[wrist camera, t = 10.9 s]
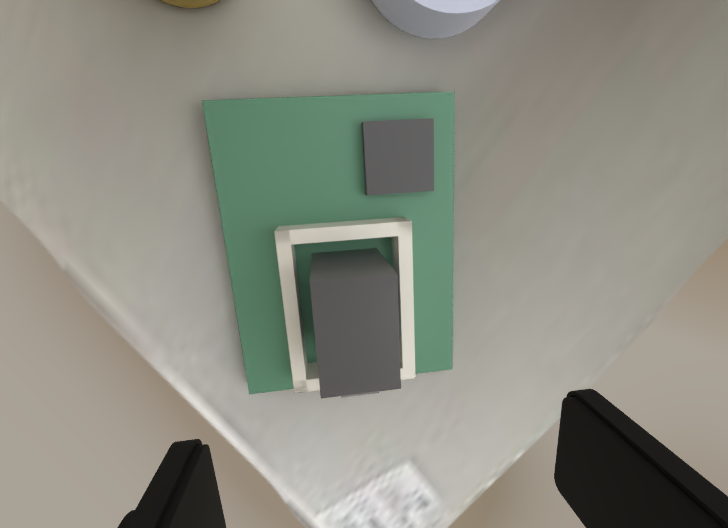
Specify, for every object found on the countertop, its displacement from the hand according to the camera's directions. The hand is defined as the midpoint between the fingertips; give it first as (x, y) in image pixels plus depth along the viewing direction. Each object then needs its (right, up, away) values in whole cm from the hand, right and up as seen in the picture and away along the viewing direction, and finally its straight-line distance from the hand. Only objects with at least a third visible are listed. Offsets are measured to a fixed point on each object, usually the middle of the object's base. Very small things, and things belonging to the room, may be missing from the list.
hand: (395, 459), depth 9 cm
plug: (-2, +3, +13) cm, 14 cm away
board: (-2, +6, +14) cm, 15 cm away
